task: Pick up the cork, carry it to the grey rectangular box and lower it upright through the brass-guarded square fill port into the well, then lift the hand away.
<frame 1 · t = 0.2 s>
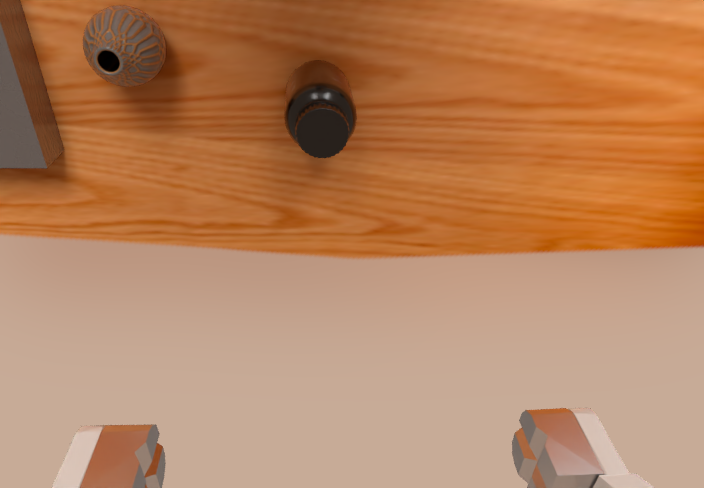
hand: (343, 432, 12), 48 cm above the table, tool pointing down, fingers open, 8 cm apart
supplement bottle: (318, 90, 55), on the table
vase: (137, 37, 51), on the table
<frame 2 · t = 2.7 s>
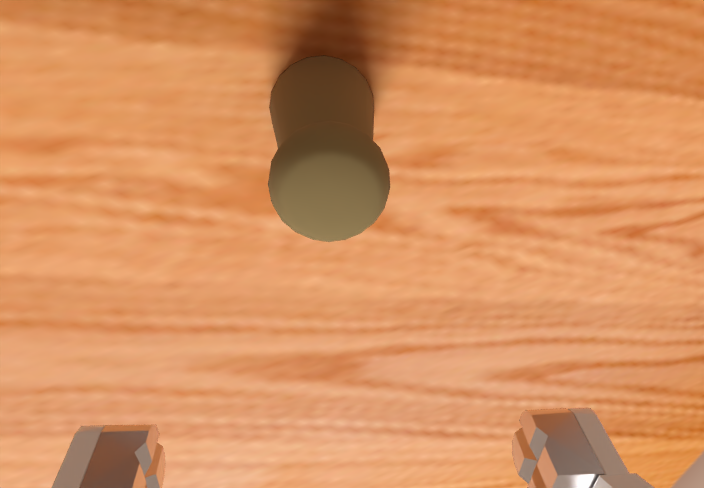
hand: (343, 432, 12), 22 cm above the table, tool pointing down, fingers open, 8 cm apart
cork: (322, 108, 30), on the table
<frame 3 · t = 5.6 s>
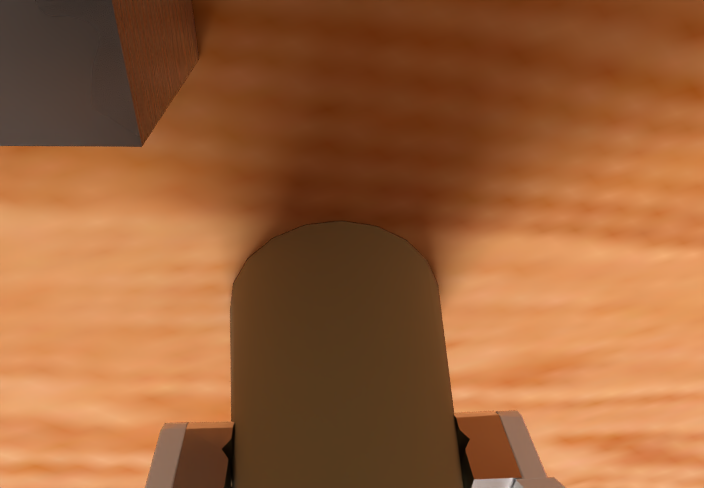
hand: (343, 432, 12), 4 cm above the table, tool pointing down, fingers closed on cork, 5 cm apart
cork: (335, 305, 15), on the table, touching gripper
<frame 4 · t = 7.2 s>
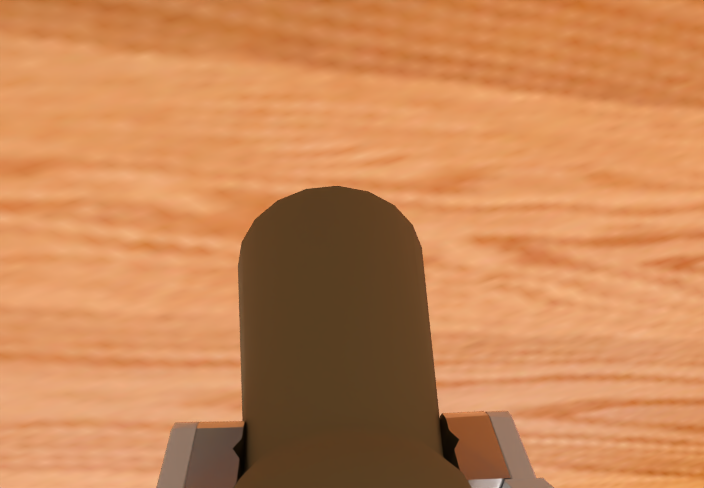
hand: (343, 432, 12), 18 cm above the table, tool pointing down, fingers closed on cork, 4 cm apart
cork: (331, 265, 17), point 11 cm above the table, touching gripper
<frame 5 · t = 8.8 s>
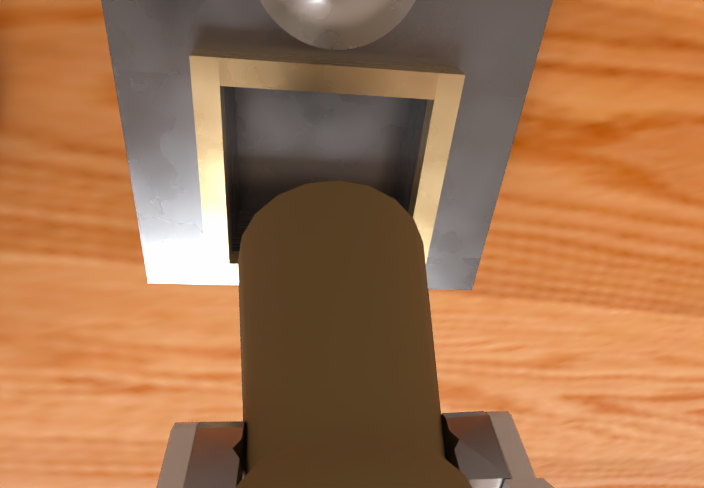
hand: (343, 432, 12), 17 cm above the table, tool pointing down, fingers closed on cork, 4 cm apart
grey rectangular box: (323, 77, 24), on the table
cork: (332, 259, 17), point 11 cm above the table, touching gripper
when the fingers open (7 cm above the table, at t = 11.4 s): cork stays where it is, point 1 cm above the table.
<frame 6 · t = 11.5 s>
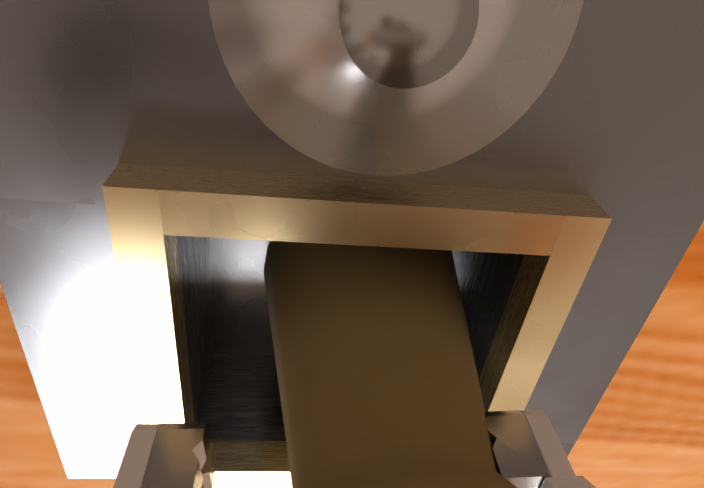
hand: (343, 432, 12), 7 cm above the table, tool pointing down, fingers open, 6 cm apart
grey rectangular box: (345, 170, 16), on the table
cork: (358, 268, 17), point 1 cm above the table, touching gripper
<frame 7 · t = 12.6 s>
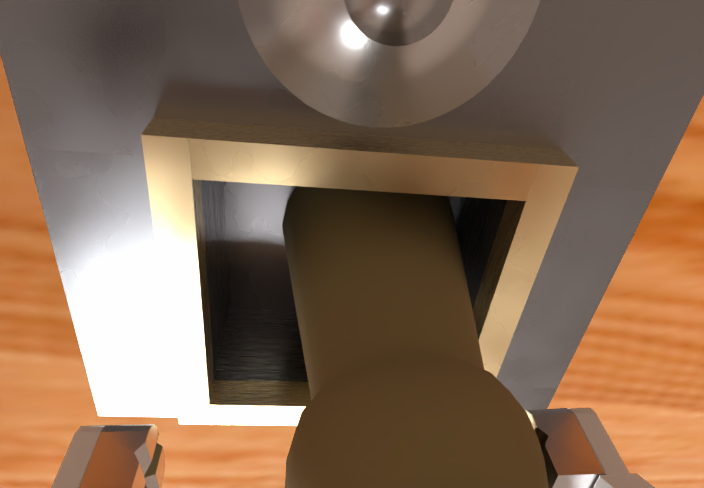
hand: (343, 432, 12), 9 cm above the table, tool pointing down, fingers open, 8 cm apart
grey rectangular box: (348, 137, 17), on the table
cork: (367, 226, 18), point 1 cm above the table, touching grey rectangular box
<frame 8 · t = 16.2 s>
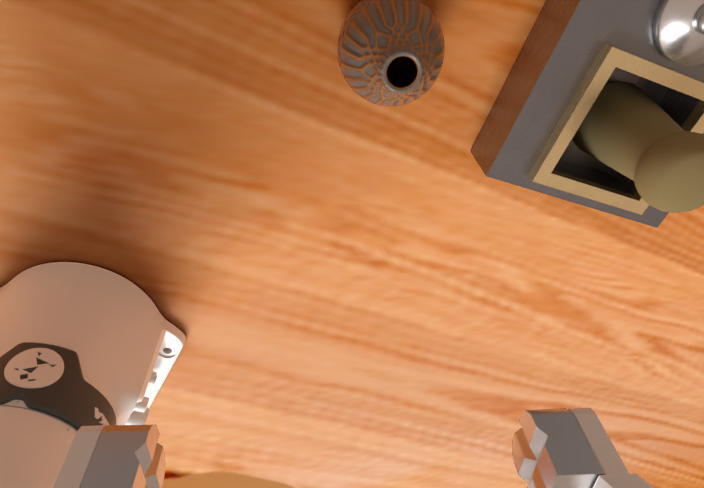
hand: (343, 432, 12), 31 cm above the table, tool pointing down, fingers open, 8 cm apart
grey rectangular box: (615, 76, 39), on the table
cork: (608, 119, 41), point 1 cm above the table, touching grey rectangular box
vase: (383, 36, 37), on the table
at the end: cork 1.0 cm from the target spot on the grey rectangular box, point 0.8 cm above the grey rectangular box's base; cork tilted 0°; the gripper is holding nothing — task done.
